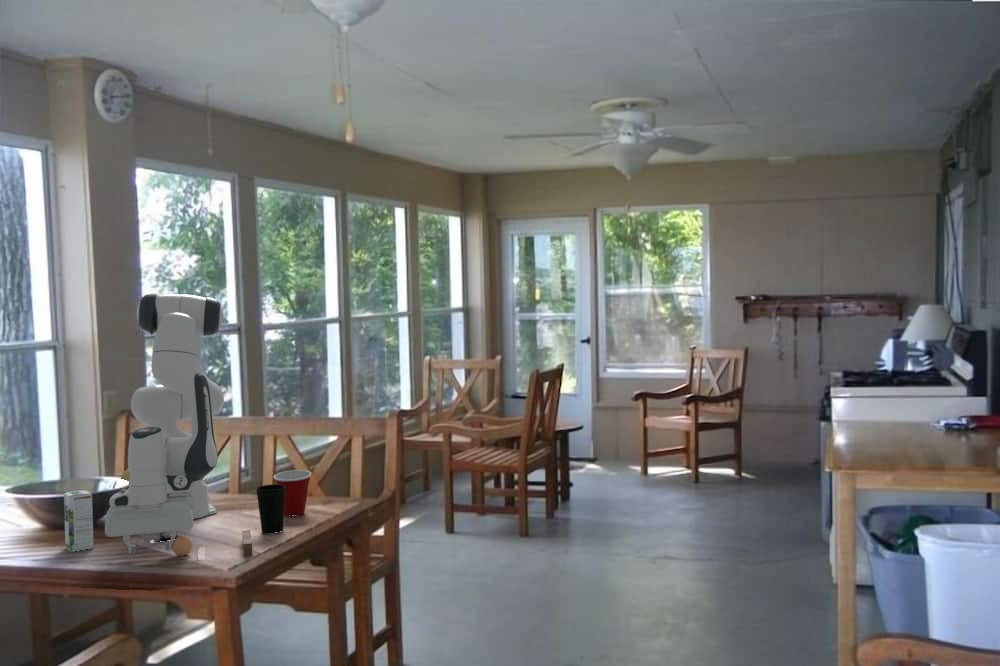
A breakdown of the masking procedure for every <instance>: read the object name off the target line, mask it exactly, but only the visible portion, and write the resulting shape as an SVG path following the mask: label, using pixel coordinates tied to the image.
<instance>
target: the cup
mask: <svg viewBox="0 0 1000 666" xmlns="http://www.w3.org/2000/svg"><path fill="white" fill-rule="evenodd" d="M285 489H286V486H284V485H279V484H277V483H274V484H264V485H260V486H258V487H256V498H257V504H258V511H259V518H260V519H259V521H260V527H261V533H262V532H263V533H262V534H264V533H275V532H280V531H282V532H283V531H284V520H285V515H284V506H285ZM280 533H281V532H280ZM275 534H276V533H275Z"/></svg>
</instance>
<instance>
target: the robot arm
mask: <svg viewBox="0 0 1000 666" xmlns="http://www.w3.org/2000/svg"><path fill="white" fill-rule="evenodd" d="M221 305H222V304H221V302H220V301H219V300H218V299H216V298H213V297H210V296H206V297H204V296H199V295H198V296H197V295H193V294H185V293H184V294H183V293H182V294H177V293H175V294H171V293H169V294H168V293H167V294H157V293H148V294H145V295H144V296H143V297H141V298H140V301H139V302H138V305H137V307H136V319H137V323H138V325H139V327H140V329H142V330H143V331H144V332H148V333H149V334H150V335H154V333H155V335H154V339H153V340H154V341H153V346H152V353H151V362H150V363H151V365H150V367H151V372H152V375H153V377H154V379H155V380H156V381H157V383H159V384H151V385H146V386H142V387H138V388H137V389H136V390H135V391H134V393H133V394H132V397H131V400H130V410H131V412H132V414H133V416H134V417H135V419H137V420H138V421H139V422H141V423H143V424H144V425H145V426H146V427H142V428H138V429H136V430H134V431H132V432H131V433H130V436H129V440H128V449H127V464H128V465H127V467H128V468H129V470H130V481H129V489H127V490H124V491H121V490H120V491H119V492H117V493H114V494H113V495H112V496H111V497H110V499H109V508H108V510H107V512H106V515H105V521H104V535H106V536H107V537H108V538H113V537H115V538H116V537H122V539H123V543H125V545H126V547H127V548H128V554H131V555H132V554H136V552H137V548H136V547H137V545H136V544H132V542H131V541H130V539H131V536H138V535H150V534H151V535H152V534H159V533H161V534H164V533H163V532H165V533H169V535H170V536H172V537H171V539H170V541H168V542H164V543H165V545H164V546H165V551H173V550H172V544H173V540H174V538H175V537H176V531H177V532H186V531H191V530H192V528H193V527H194V520H195V519H200V518H203V517H206V516H209V515H214V514H217V509H216V508H215V506H213V505H212V504H211V503H210V500H211V498H210V495H209V486H208V484H207V483H205V482H204V480H203V478H204V477H206V476H207V475H209V474H210V473H211V472H212V471H213V470H214V469H215V468H216V466H217V463H218V449H217V445H216V440H215V435H214V424H213V416H216V415H218V414H220V412H221V411H222V409H223V407H224V403H225V397H224V392H223V390H222V388H221V387H220V385H218V384H217V383H216V382H214V381H213V380H211V379H210V378H209V377H208V376H207V374H205V372H204V369H203V365H202V343H203V342H202V339H203V336H204V337H205V336H206V337H207V336H213V335H215V334H217V333H218V332H219V330H220V328H221V326H222V324H223V321H224V311H223V307H222V306H221ZM202 335H203V336H202ZM190 420H191V429H192V433H189V432H187V431H185V430H181V429H180V428H179V426H178V422H179V421H190ZM128 468H127V469H128Z"/></svg>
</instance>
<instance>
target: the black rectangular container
mask: <svg viewBox="0 0 1000 666" xmlns="http://www.w3.org/2000/svg"><path fill="white" fill-rule="evenodd" d="M165 533H166V532H163V533H158V537H155V538H154V537H153V538H152V539H153V540H154V542H160V541H167V540H170V539H171V537H172V536H170V534H168V535H167V534H166V535H162V534H165ZM177 533H178V531H176V537H175V538H174V539H176V538H178V537H180V536H179V535H180V534H177Z"/></svg>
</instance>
